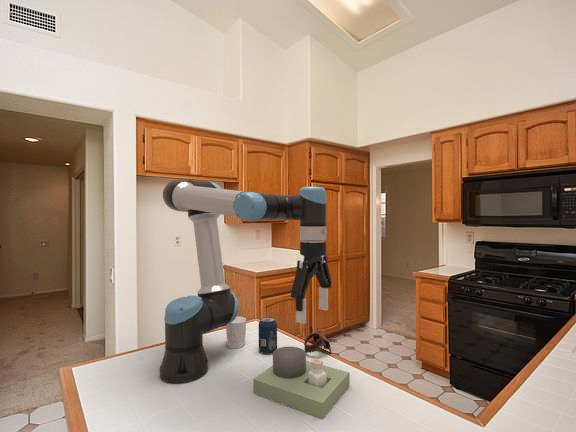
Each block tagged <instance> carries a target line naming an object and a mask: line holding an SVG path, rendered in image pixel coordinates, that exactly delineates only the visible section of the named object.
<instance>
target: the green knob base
mask: <svg viewBox="0 0 576 432" xmlns="http://www.w3.org/2000/svg"><path fill="white" fill-rule="evenodd" d="M310 371H312V361H309V360H307V354H306V352H305V349H303V348H301V347H298V346H297V347H296V346H281V347H277V349H276V350H275V351H274V352H273V354H272V365H271V366H269V368H267V369H265V370H264V371H262V372H261V373H260V374H258V375H257V376H255V377H254V378H252V394H255V395H257V396H260V397H262V398H265V399H268V400H270V401H273V402H276V403H279V404H282V405H284V406H287V407H289V408H292V409H294V410H298V411H300V412H303V413H306V414H308V415H310V416H314V417H317V418H319V419H322V420H324V418H325V417H326V415H328V413H329V412H330V410H331V409H332V408H333V407H334V406H335V404H336V403H337V402H338V401H339V399H340V398H341V397H342V396H343V395H344V393H345V392H346V391H347V390H348V388H349V387H350V372H349V371H346V370H341V369H338V368H334V367H331V366H326V365H324V364H323V371H324V372H325V373H326V375H327V384H326V385H325V386H324V387H323V388H320V387H317V386H313V385H310V384H308V373H309V372H310Z"/></svg>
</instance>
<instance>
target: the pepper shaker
mask: <svg viewBox="0 0 576 432" xmlns="http://www.w3.org/2000/svg"><path fill="white" fill-rule="evenodd" d="M311 362H312V371H310V372H309V373H308V384H310V385H313V386H317V387H320V388H323V387H324V386H325V385H326V384H327V375H326V373H325V372H324V371H323V365H324V361H323V359H321V358H313V359H312V360H311Z"/></svg>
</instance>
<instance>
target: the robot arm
mask: <svg viewBox="0 0 576 432" xmlns="http://www.w3.org/2000/svg"><path fill="white" fill-rule="evenodd" d="M326 192H327V191H326V189H325V187H322V186H304V187H301V188H300V189H299V193H298V194H273V193H261V192H256V191H255V192H254V191H244V190H234V189H225V188H221V186H220V185H218V184H217V182H216V183H215V182H213V181H209V180H196V179H186V178H176V179H173V180H171V181H169V182H167V184H166V185H165V186H164V188H163V191H162V198H163V202H164V204H165V205H166V206H167V208H169V209H171V210H172V211H177V212H187V217H188V219H189V220H190V221H191V222H192V223H193V230H194V239H195V247H196V248H195V249H196V255H197V264H198V272H199V279H200V281H199V282H200V289H199V290H198V291H197V295H188V296H181V297H179V298H175V299H173V300H172V301H170V302H169V303H167V305H166V307H165V311H164V317H163V319H164V320H163V321H164V338H165V339H164V348H165V349H164V353H163V357H162V361H161V364H160V366H159V379H160V380H161V381H162V382H164V383H167V384H185V383H189V382H193V381H196V380H197V379H200V378H202V377H204V376H205V375H206V374H207V373H208V371H209V360H208V357H207V354H206V351H205V349H204V346H203V344H204V343H203V339H204V337H203V335H204V334H206V333H209V332H211V331H214V330H216V329H219V328H223V327H226V325H227V324H229V323H231V322H233V321H234V320H235V318H236V317H238V314H239V310H240V304H239V303H240V302H239V299H238V297H237V296H236V294H235V293H234V292H233V291H231V287H230V286H229V285H228V284H227V283H226V282H225V281H226V280H225V272H224V266H223V265H224V264H223V263H224V262H223V258H222V251H221V250H222V249H221V241H220V233H219V225H218V218H219V217H220V216H221V215H223V216H228V217H235V218H239V219H240V220H242V221H247V222H256V221H257V222H258V221H299V240H300V242H299V254H300V255H301V256H303V260H297V262H296V270H295V275H294V279H293V282H292V283H293V284H292V288H291V292H290V297H291V298H293V299H295V323H298V324H304V325H305V324H307V298H305V297H306V294H307V291H308V288H309V285H310V283H311V279H312V278H313V277H314V276H315V278H316V279H317V282H318V283H319V286H320V287H318V310H322V311H328V310H329V289H331V288H332V282H333V281H332V277H331V274H330V268H329V264H328V256H327V255H326V254H327V243H326V240H327V234H328V230H327V205H328V201H327V193H326Z"/></svg>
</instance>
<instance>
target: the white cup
mask: <svg viewBox="0 0 576 432" xmlns="http://www.w3.org/2000/svg"><path fill="white" fill-rule="evenodd" d="M246 330H247V318H246V317H243V316H237V317H236V318H235V320H234V321H233V322H231V323H229V324H227V325H226V326H225V331H226V332H225V333H226V340H227V343H226V344H227V347H228V348H229V349H240V348H243V347H244V346H245V343H246Z"/></svg>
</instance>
